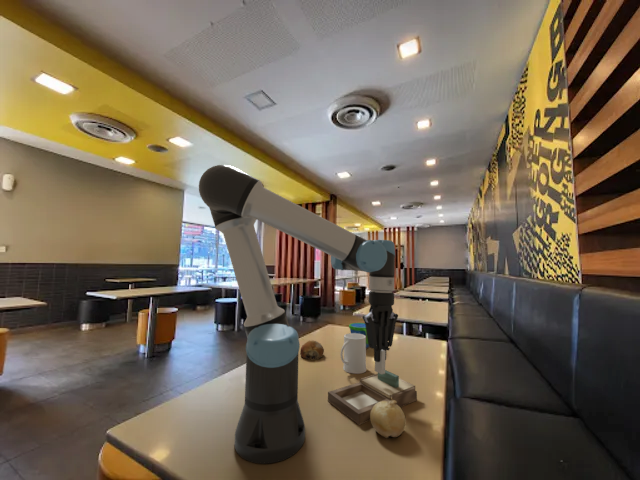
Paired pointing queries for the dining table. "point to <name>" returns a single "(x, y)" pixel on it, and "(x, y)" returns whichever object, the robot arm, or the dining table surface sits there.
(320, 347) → the bread roll
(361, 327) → the snack cup
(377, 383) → the cover
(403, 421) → the onion
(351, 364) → the mug
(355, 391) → the brown sliding lid box
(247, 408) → the robot arm
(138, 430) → the dining table surface
